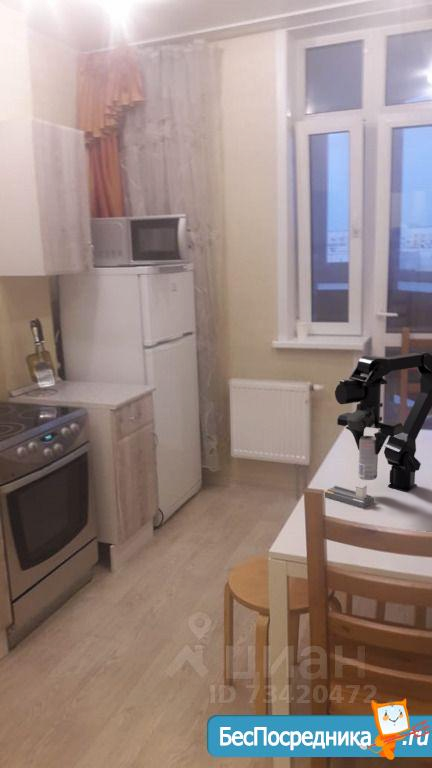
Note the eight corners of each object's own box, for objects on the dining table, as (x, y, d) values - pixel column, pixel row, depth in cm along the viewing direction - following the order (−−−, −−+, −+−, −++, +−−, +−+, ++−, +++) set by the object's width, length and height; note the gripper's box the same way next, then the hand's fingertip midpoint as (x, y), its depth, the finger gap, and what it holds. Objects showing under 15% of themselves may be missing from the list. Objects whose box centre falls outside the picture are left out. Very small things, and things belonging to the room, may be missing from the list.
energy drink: (374, 473, 182) (375, 435, 179) (379, 480, 177) (380, 440, 174) (356, 474, 182) (357, 435, 179) (360, 480, 177) (361, 440, 174)
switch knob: (366, 497, 174) (366, 485, 173) (362, 499, 172) (362, 488, 172) (360, 495, 176) (360, 483, 175) (355, 497, 174) (355, 486, 173)
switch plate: (374, 501, 175) (374, 494, 174) (363, 508, 171) (363, 501, 170) (335, 490, 184) (335, 484, 183) (324, 496, 179) (324, 489, 179)
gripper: (326, 400, 176) (325, 451, 179) (384, 410, 162) (382, 466, 166) (348, 393, 183) (347, 443, 186) (405, 403, 170) (403, 456, 173)
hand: (368, 452), depth 178 cm, fingers closed on energy drink, 5 cm apart
